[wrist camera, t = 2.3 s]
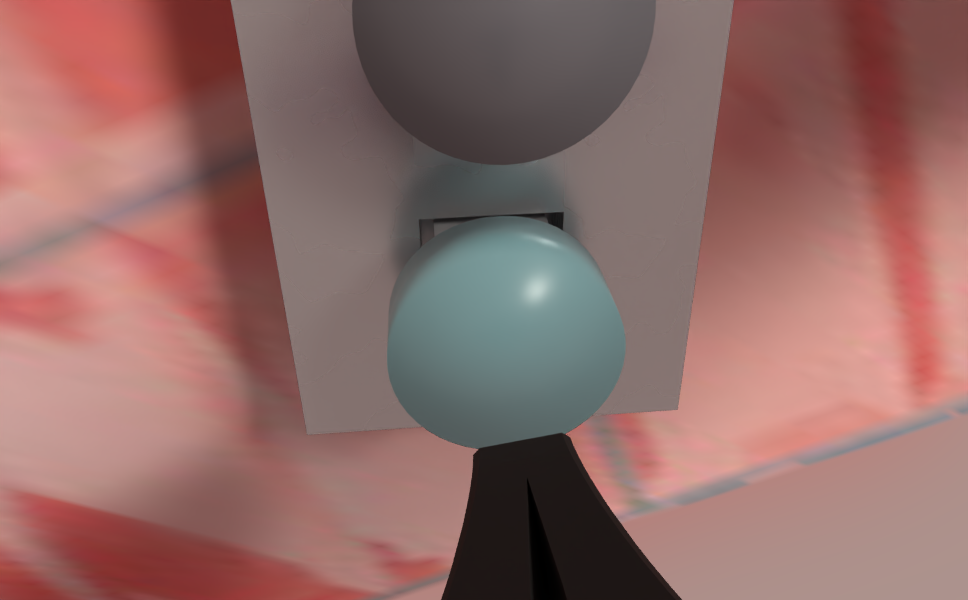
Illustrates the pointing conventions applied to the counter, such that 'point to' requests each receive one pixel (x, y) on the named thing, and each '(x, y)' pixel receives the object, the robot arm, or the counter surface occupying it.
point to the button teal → (502, 331)
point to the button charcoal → (502, 70)
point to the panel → (470, 200)
